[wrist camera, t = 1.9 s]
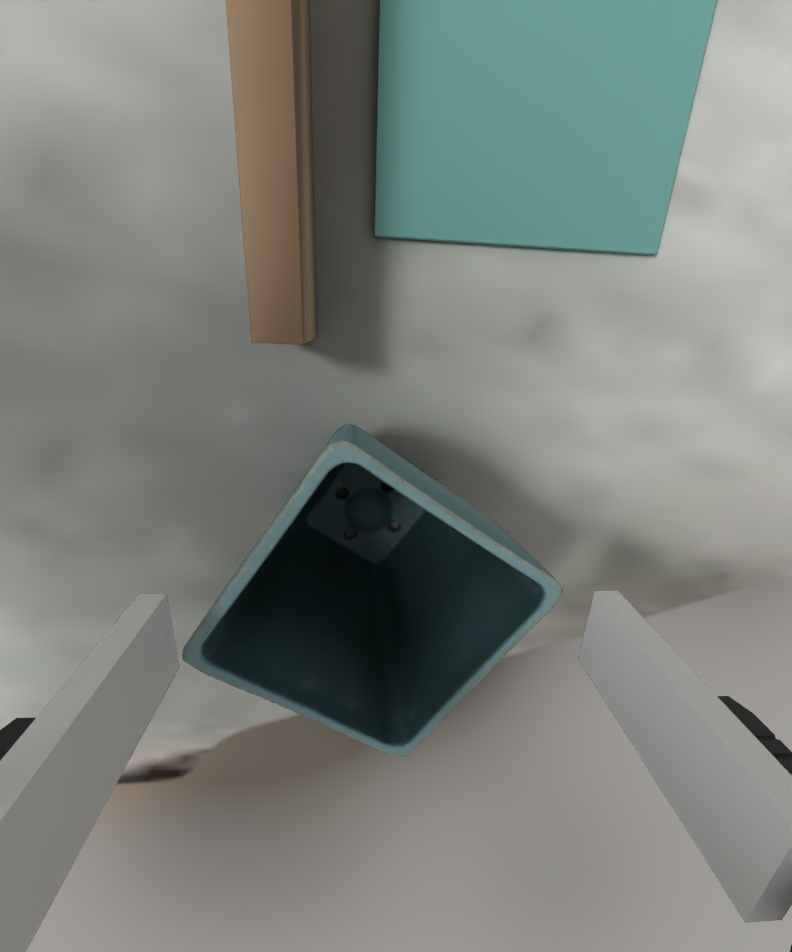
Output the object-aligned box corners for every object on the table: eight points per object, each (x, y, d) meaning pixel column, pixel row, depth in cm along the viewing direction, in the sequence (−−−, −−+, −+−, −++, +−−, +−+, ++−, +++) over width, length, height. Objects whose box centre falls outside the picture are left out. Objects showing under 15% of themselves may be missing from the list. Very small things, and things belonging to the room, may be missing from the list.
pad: (374, 237, 17) (374, 235, 16) (384, -213, 13) (385, -229, 12) (650, 255, 18) (656, 253, 18) (744, -151, 14) (755, -164, 13)
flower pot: (345, 382, 19) (335, 433, 10) (488, 485, 21) (573, 592, 13) (246, 525, 21) (172, 663, 12) (387, 603, 23) (403, 762, 15)
